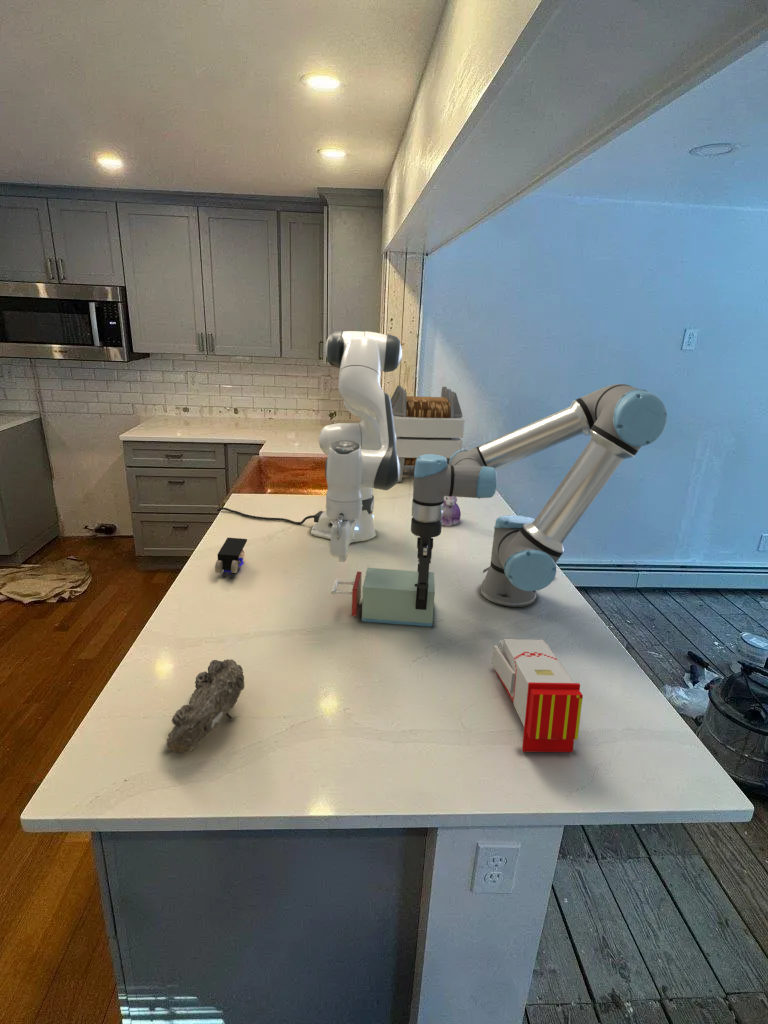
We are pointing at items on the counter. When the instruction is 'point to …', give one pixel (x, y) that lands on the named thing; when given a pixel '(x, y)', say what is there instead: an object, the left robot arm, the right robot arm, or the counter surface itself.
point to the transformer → (426, 426)
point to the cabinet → (395, 597)
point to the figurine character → (230, 556)
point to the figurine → (450, 511)
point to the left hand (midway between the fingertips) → (343, 559)
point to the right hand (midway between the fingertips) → (421, 597)
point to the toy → (539, 694)
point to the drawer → (355, 592)
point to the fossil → (206, 705)
